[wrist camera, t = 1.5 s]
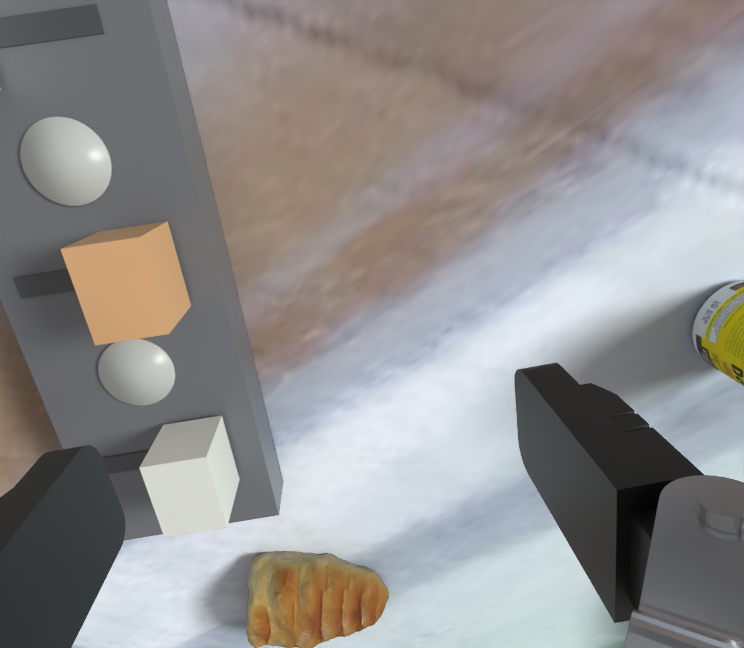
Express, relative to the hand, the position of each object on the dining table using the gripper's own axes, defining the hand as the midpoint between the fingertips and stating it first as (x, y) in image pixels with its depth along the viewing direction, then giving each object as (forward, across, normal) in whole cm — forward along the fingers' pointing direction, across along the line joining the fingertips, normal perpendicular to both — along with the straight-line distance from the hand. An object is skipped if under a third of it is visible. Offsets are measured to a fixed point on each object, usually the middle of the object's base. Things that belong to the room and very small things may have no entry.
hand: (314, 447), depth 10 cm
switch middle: (+15, +8, -1) cm, 17 cm away
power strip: (+18, +10, -6) cm, 22 cm away
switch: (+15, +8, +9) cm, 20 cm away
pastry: (+19, +5, +23) cm, 30 cm away
